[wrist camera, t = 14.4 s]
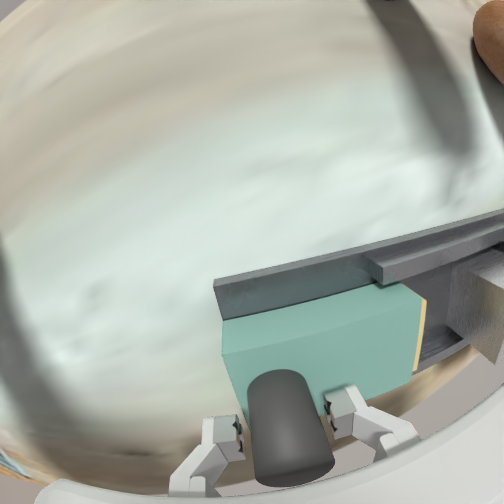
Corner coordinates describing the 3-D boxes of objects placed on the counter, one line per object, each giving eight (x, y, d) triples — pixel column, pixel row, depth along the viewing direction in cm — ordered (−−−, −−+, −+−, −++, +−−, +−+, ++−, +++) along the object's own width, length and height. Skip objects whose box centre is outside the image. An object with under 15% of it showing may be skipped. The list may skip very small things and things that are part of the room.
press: (214, 279, 15) (205, 341, 9) (512, 205, 15) (560, 218, 9) (251, 403, 17) (259, 471, 12) (502, 304, 18) (539, 328, 12)
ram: (222, 320, 14) (220, 444, 7) (400, 274, 14) (494, 340, 7) (246, 395, 16) (257, 502, 8) (395, 352, 16) (457, 428, 8)
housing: (490, 247, 15) (557, 277, 8) (483, 303, 16) (538, 341, 9) (452, 262, 15) (529, 303, 8) (445, 324, 16) (505, 374, 9)
